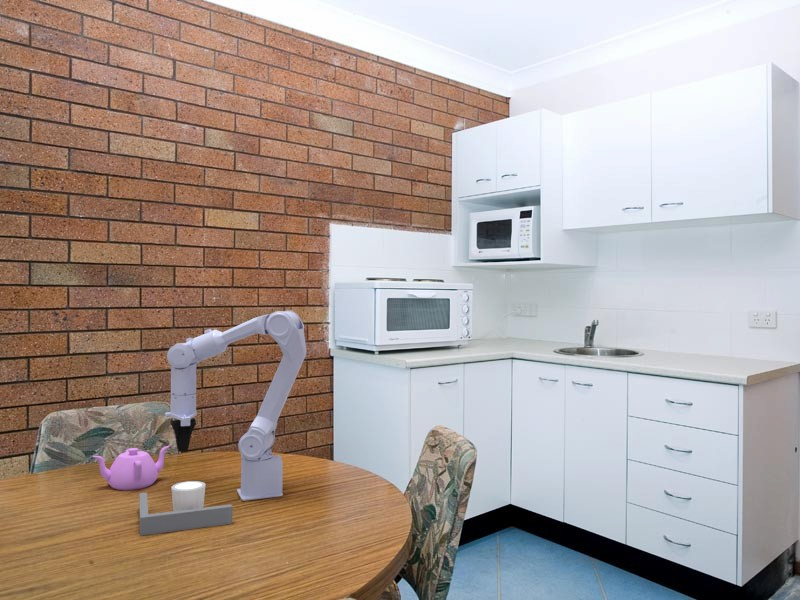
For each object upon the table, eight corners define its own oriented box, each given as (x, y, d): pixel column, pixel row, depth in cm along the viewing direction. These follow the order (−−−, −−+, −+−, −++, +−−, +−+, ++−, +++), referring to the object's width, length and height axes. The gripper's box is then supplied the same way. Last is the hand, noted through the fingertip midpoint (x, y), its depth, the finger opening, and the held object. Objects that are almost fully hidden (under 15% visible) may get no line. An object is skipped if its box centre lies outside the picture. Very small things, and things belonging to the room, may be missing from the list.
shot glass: (195, 525, 125) (195, 491, 124) (164, 523, 126) (164, 489, 126) (211, 513, 131) (211, 481, 131) (181, 511, 132) (181, 479, 132)
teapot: (170, 478, 156) (170, 444, 156) (133, 495, 143) (133, 458, 143) (130, 474, 159) (131, 440, 159) (91, 490, 146) (91, 453, 146)
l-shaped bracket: (221, 499, 140) (222, 484, 140) (232, 523, 126) (232, 506, 126) (139, 509, 133) (139, 493, 133) (140, 535, 119) (140, 517, 119)
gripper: (164, 389, 150) (163, 445, 150) (167, 399, 137) (166, 459, 137) (194, 388, 153) (193, 442, 153) (200, 397, 140) (199, 456, 140)
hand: (182, 450), depth 145 cm, fingers closed
